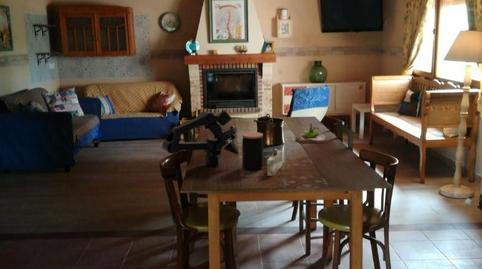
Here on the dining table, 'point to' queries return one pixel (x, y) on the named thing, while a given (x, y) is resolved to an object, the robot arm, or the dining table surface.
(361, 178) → the dining table surface
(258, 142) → the coffee jar
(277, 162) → the bench stop
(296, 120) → the dining table surface
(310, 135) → the plant
